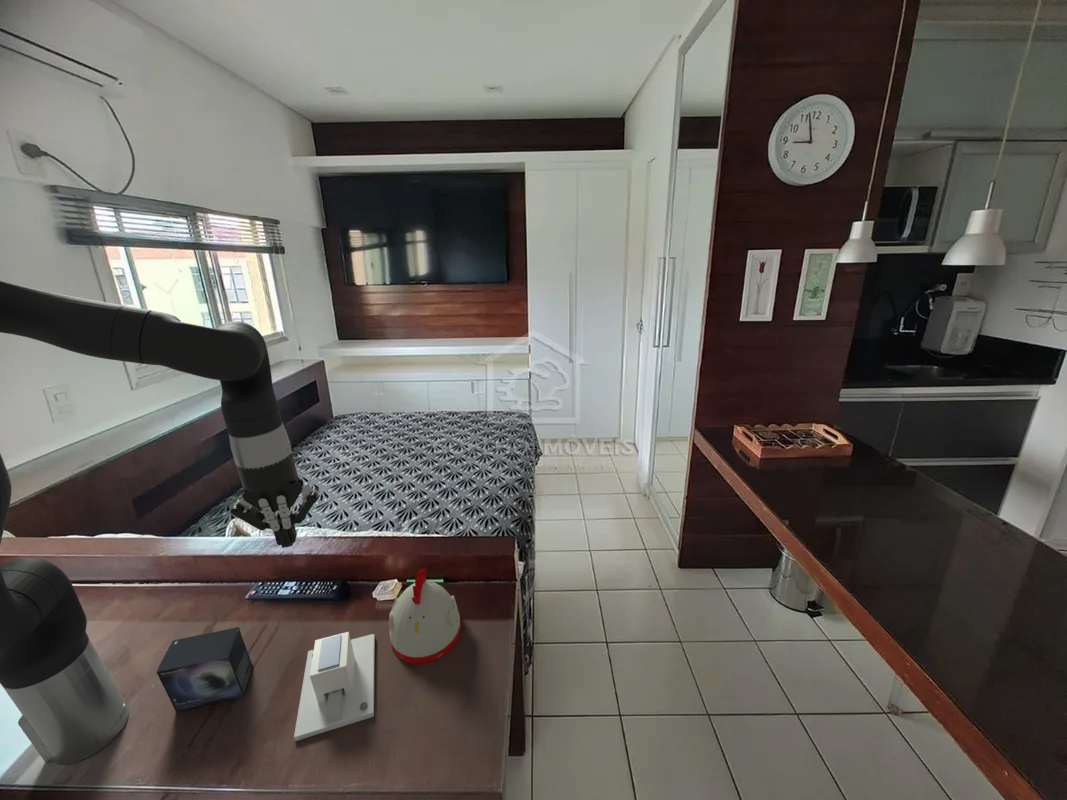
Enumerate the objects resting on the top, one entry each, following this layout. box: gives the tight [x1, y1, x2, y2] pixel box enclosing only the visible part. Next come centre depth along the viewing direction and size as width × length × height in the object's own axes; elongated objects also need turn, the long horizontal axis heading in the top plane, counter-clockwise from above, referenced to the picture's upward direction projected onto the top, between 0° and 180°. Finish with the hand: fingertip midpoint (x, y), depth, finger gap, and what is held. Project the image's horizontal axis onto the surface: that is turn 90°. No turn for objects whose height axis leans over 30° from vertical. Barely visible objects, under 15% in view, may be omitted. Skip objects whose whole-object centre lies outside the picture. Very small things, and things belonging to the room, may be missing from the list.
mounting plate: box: [293, 633, 376, 742], centre depth 79 cm, size 12×16×3 cm
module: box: [310, 631, 355, 704], centre depth 77 cm, size 6×7×7 cm
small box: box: [155, 626, 254, 713], centre depth 76 cm, size 11×6×10 cm, turn 105°
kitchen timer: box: [388, 568, 462, 664], centre depth 86 cm, size 14×14×15 cm
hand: (288, 543), depth 74 cm, fingers closed
